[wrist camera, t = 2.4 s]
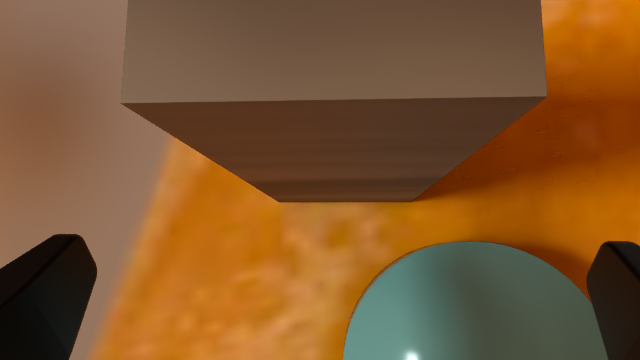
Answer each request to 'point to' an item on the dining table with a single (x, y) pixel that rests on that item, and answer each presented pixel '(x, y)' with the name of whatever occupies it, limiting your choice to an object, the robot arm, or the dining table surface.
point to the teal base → (472, 309)
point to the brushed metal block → (334, 87)
